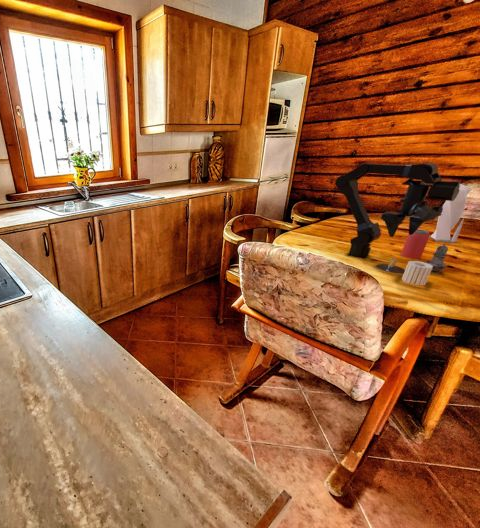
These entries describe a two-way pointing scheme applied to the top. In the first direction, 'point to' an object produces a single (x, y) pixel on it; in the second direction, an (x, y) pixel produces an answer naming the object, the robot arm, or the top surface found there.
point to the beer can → (415, 244)
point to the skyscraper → (451, 217)
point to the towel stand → (391, 267)
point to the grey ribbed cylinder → (417, 272)
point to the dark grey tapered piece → (438, 259)
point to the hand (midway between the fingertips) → (400, 235)
